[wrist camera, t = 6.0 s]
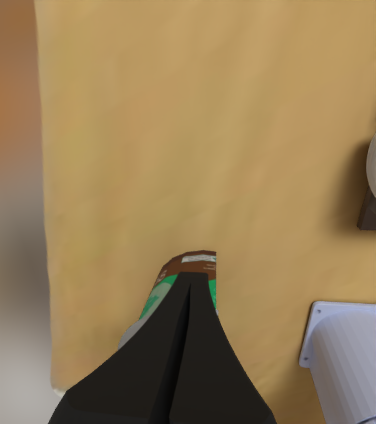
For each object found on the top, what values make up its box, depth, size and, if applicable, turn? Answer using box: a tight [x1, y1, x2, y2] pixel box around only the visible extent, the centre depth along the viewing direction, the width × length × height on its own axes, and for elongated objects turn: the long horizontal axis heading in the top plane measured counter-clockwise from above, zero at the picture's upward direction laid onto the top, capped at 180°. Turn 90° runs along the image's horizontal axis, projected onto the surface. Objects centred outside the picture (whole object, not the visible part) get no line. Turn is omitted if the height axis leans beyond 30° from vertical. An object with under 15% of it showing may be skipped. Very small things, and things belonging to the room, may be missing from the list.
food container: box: [118, 250, 218, 350], centre depth 21 cm, size 12×6×10 cm, turn 172°
